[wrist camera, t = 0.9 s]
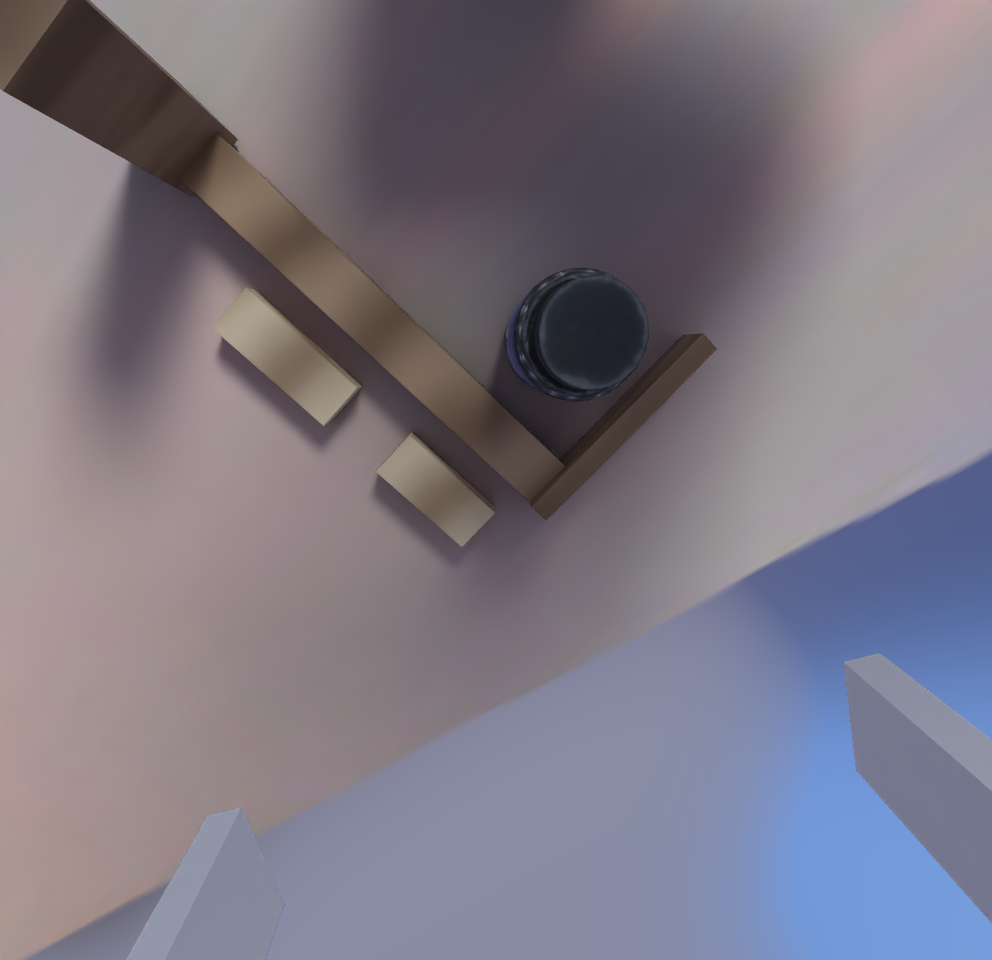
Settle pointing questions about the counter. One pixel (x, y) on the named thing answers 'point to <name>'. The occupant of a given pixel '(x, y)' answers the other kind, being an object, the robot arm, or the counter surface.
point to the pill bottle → (577, 335)
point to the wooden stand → (292, 235)
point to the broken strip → (326, 394)
